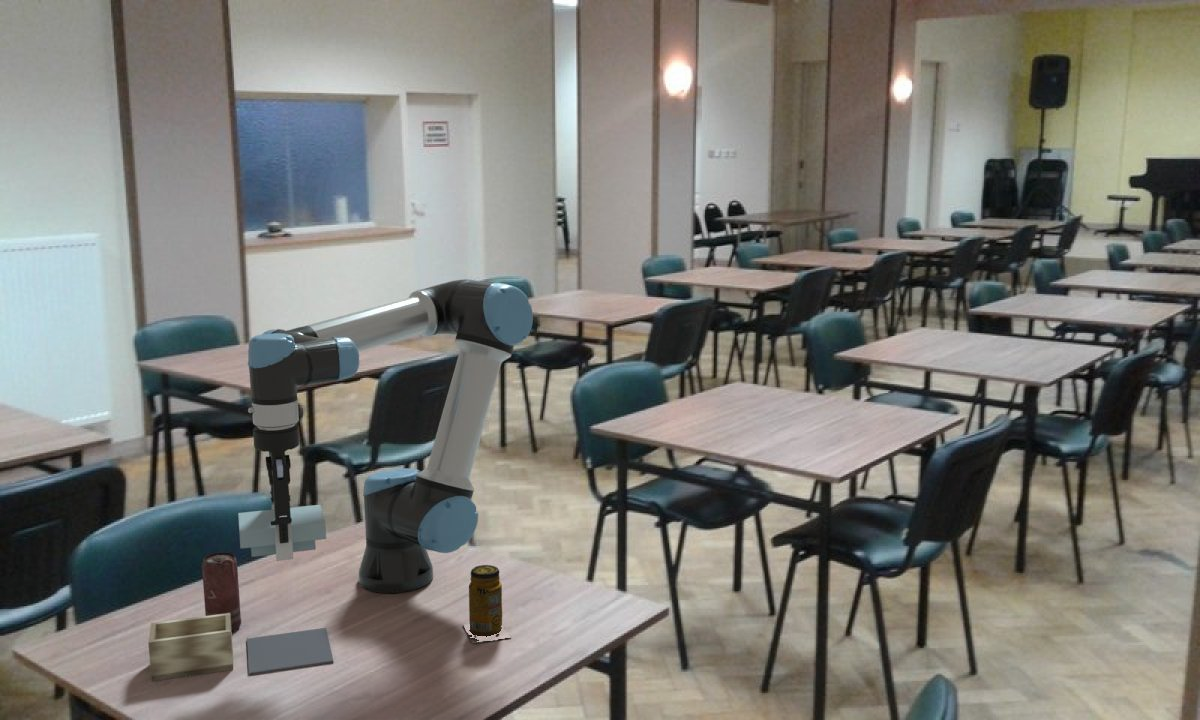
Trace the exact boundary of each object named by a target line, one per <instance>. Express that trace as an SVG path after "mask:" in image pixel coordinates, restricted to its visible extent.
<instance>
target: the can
mask: <svg viewBox="0 0 1200 720" xmlns="http://www.w3.org/2000/svg"><path fill="white" fill-rule="evenodd" d="M201 570H202V571H201V572H202V573H201V574H202V585H203V587H202V588H203V599H204V611H205V615H204V616H210V615H218V614H226V613H230V617H231V631H232V633H235V632H236V631H237V630H239V629H240V627H241V625H242V618H241V617H242V616H241V601H240V600H241V599H240V587H239V586H240V585H239V572H238V559H237V558H236V556H235V554H234V553H230V552H216V553H212V554H208V555H207V556H205V557H204V558H203V560H202V562H201Z"/></svg>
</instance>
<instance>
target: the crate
mask: <svg viewBox="0 0 1200 720" xmlns="http://www.w3.org/2000/svg"><path fill="white" fill-rule="evenodd" d="M147 643H148V652H149V653H148V654H149V656H148V657H149V666H150V678H151V679H150V680H151V682H158V681H164V680H170V679H171V680H172V679H178V678H184V677H190V676H199V675H207V674H211V673H212V674H213V673H218V672H219V673H220V672H226V671H233V670H234V650H233V632H232V631H231V617H230V613H226V614H218V615H210V616H206V615H203V616H195V617H188V618H181V619H173V620H166V621H158V622H151V623H150V629H149V636H148V642H147Z"/></svg>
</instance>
